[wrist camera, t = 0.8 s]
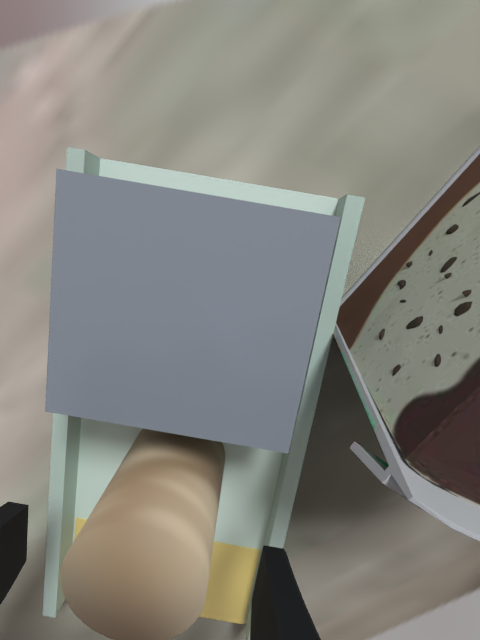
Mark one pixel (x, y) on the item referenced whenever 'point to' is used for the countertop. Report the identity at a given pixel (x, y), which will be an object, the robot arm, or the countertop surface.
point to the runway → (240, 461)
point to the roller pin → (148, 540)
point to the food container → (424, 354)
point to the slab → (183, 309)
